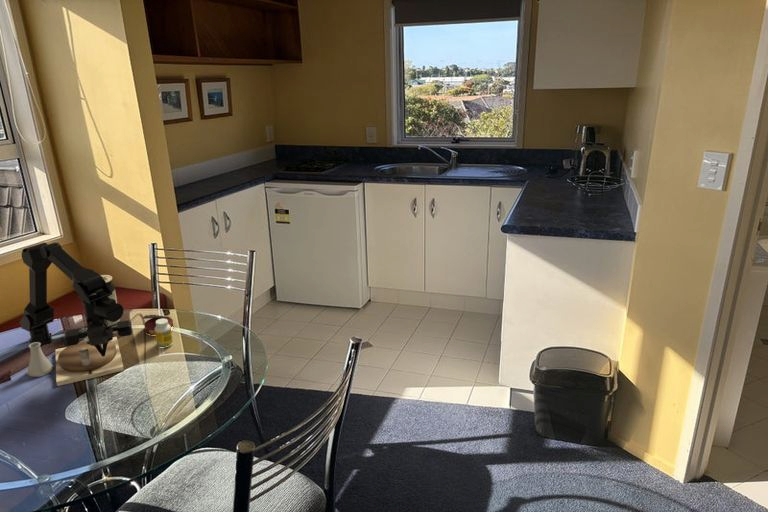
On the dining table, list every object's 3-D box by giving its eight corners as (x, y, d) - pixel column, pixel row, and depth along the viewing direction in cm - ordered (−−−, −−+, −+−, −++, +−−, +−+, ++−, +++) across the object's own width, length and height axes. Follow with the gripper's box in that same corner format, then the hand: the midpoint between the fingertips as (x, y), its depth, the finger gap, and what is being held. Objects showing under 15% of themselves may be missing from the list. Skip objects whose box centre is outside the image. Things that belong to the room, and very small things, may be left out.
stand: (56, 353, 188) (55, 348, 188) (117, 340, 197) (116, 335, 196) (57, 386, 171) (56, 381, 171) (123, 370, 180) (123, 365, 180)
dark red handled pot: (146, 343, 205) (132, 320, 203) (168, 329, 212) (155, 307, 210) (160, 339, 197) (147, 315, 195) (183, 325, 205) (170, 302, 203)
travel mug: (105, 329, 204) (97, 285, 197) (92, 323, 208) (84, 279, 201) (124, 320, 210) (117, 277, 203) (111, 314, 214) (104, 272, 207)
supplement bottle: (165, 339, 199) (161, 315, 195) (176, 343, 197) (173, 319, 193) (153, 346, 194) (150, 322, 190) (165, 350, 192) (161, 326, 188)
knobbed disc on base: (61, 349, 187) (57, 331, 185) (116, 339, 194) (113, 322, 191) (56, 376, 173) (52, 357, 170) (116, 365, 179) (113, 347, 177)
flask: (42, 379, 175) (35, 352, 171) (22, 376, 176) (15, 349, 172) (58, 366, 181) (52, 340, 177) (39, 363, 182) (33, 337, 179)
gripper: (58, 330, 161) (69, 375, 167) (128, 319, 169) (135, 362, 175) (62, 313, 171) (71, 356, 177) (127, 303, 178) (134, 345, 184)
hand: (103, 355), depth 178 cm, fingers closed
